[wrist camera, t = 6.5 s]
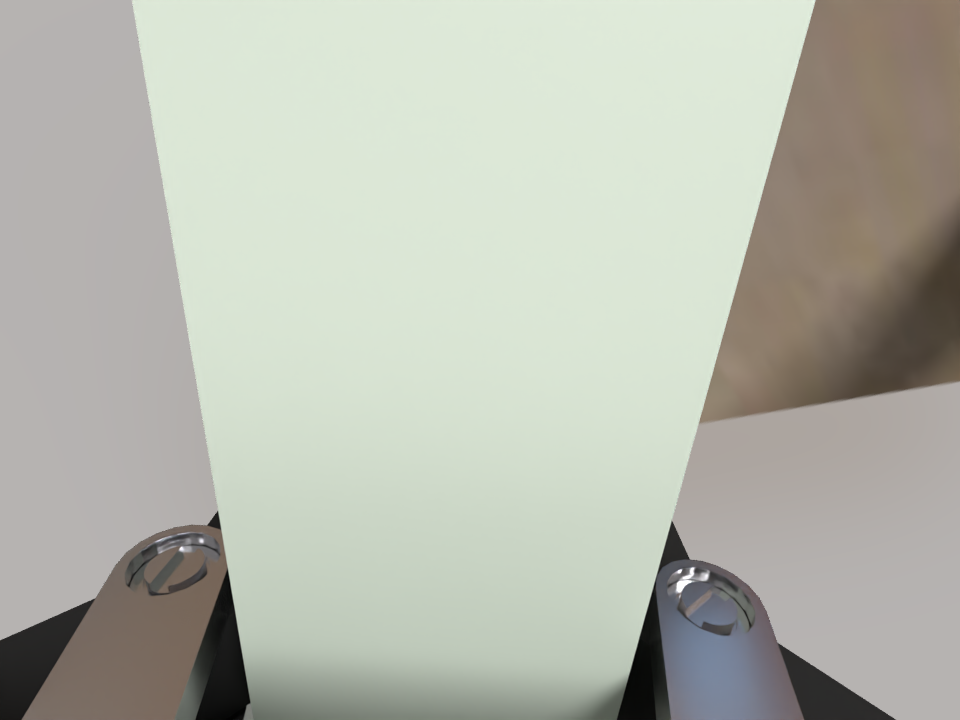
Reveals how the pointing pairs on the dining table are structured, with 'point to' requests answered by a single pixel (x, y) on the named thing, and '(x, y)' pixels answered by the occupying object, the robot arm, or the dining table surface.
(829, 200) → the dining table surface
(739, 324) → the dining table surface
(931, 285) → the dining table surface
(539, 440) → the pale green slab
